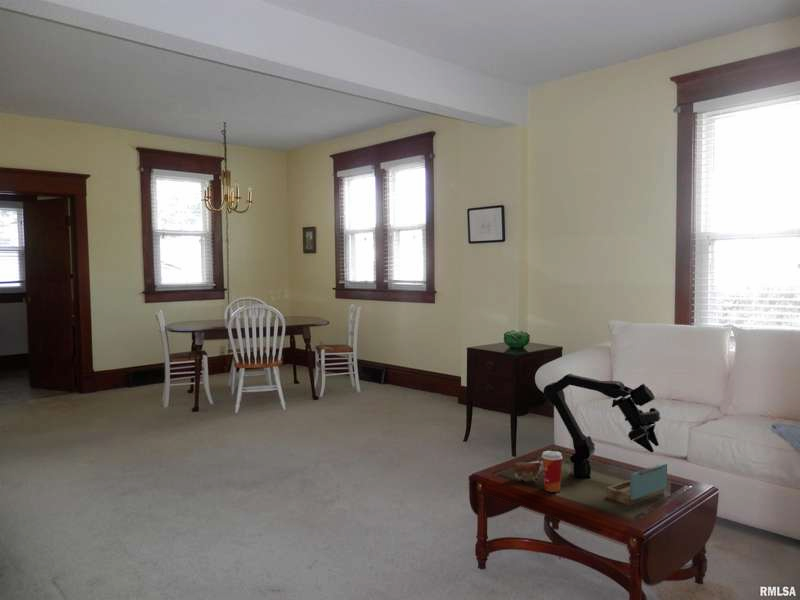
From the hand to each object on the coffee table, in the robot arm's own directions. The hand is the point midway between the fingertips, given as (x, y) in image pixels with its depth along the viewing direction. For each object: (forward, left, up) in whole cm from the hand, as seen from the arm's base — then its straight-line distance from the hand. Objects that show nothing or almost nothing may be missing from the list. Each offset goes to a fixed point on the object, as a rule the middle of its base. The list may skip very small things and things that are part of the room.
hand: (655, 448), depth 227 cm
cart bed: (-10, -6, -15) cm, 19 cm away
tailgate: (-7, -10, -13) cm, 18 cm away
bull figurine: (-44, +12, -16) cm, 48 cm away
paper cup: (-38, +1, -15) cm, 41 cm away
